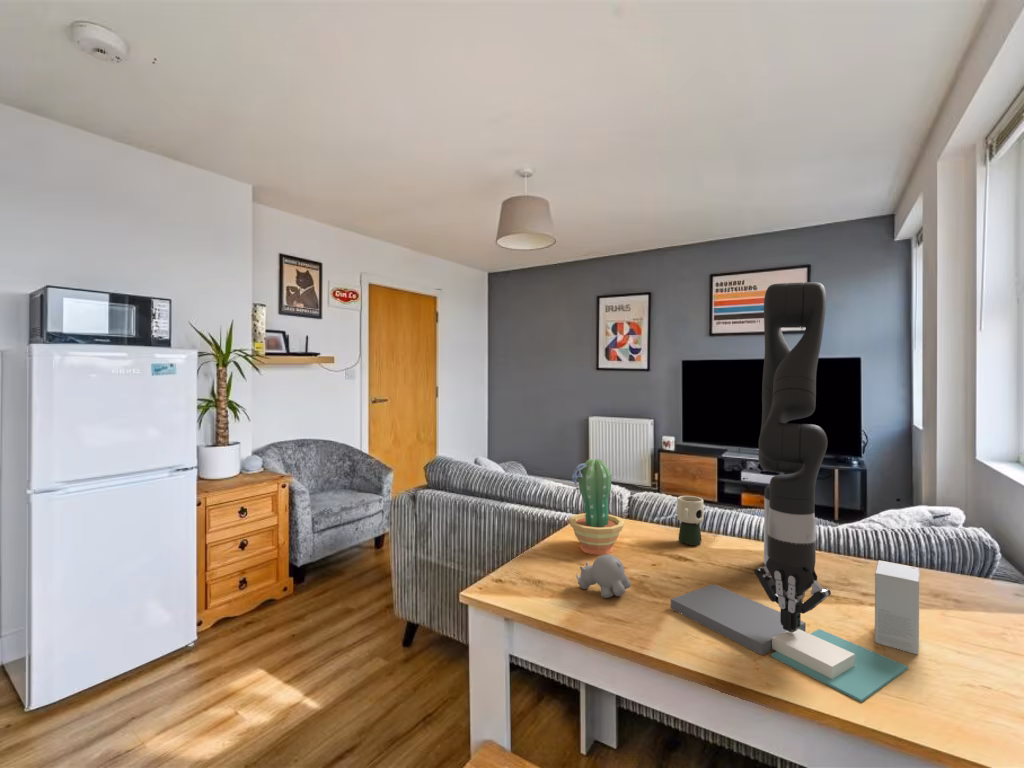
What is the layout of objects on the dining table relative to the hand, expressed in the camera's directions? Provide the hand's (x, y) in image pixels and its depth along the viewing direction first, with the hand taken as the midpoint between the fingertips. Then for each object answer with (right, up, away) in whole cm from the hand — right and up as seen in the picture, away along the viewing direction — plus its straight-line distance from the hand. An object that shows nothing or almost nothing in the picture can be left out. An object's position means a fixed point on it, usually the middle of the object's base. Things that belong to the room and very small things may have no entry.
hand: (790, 629), depth 88 cm
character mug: (+1, -2, +54) cm, 54 cm away
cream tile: (+2, -2, -4) cm, 5 cm away
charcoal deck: (-6, -3, +9) cm, 11 cm away
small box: (+21, -3, +2) cm, 21 cm away
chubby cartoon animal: (-30, -3, +22) cm, 37 cm away
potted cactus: (-26, -2, +49) cm, 56 cm away
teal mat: (+5, -3, -5) cm, 8 cm away
